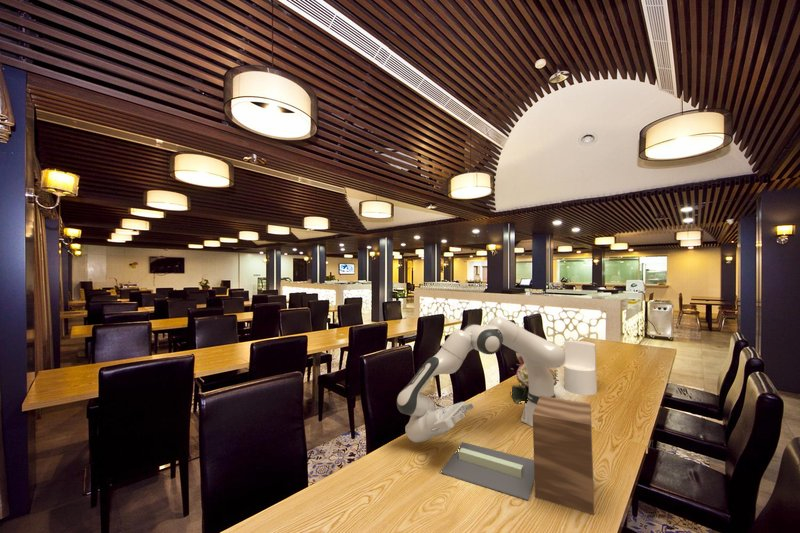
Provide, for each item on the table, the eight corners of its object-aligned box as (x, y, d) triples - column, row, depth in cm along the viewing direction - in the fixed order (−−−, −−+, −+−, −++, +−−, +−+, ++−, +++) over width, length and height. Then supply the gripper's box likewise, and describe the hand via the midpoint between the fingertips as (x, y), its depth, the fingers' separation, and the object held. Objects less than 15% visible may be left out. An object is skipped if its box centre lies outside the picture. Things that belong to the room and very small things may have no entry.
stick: (461, 455, 127) (461, 447, 127) (523, 474, 114) (523, 465, 114) (458, 459, 124) (458, 451, 124) (521, 478, 112) (521, 469, 112)
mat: (462, 442, 137) (462, 441, 137) (539, 462, 122) (539, 461, 122) (439, 473, 116) (439, 471, 116) (528, 501, 101) (528, 499, 101)
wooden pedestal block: (542, 467, 118) (540, 395, 119) (593, 481, 110) (590, 403, 111) (535, 497, 103) (532, 414, 104) (593, 515, 95) (590, 424, 96)
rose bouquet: (517, 407, 172) (515, 350, 173) (506, 388, 201) (505, 340, 202) (568, 409, 169) (566, 351, 170) (549, 389, 198) (548, 340, 199)
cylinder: (571, 383, 209) (570, 339, 210) (601, 390, 196) (599, 343, 197) (559, 389, 198) (557, 343, 199) (590, 397, 185) (588, 347, 186)
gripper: (424, 424, 121) (454, 411, 116) (445, 405, 139) (472, 393, 133) (432, 441, 120) (463, 429, 114) (453, 419, 137) (480, 408, 131)
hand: (468, 409), depth 124 cm, fingers open, 8 cm apart
